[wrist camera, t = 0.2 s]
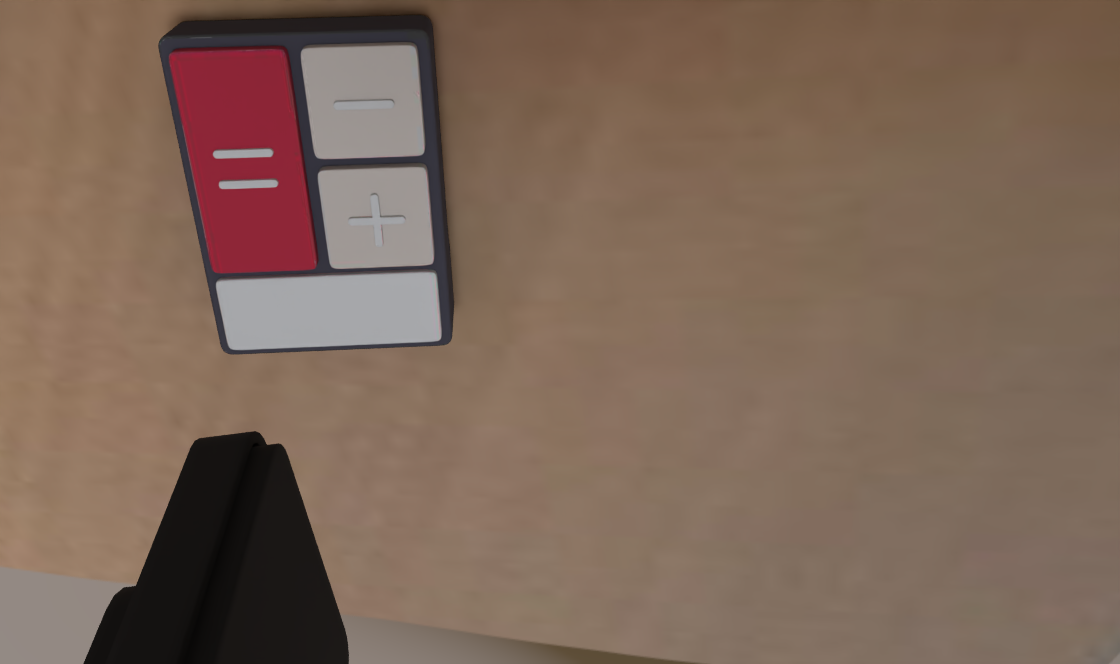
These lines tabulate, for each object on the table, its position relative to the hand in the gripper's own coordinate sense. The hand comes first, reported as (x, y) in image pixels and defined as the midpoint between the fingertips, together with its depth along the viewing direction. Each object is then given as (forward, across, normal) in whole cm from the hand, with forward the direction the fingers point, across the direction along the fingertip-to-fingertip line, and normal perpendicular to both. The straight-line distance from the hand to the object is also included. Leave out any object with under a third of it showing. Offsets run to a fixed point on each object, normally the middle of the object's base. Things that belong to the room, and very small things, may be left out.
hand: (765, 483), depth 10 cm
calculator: (+37, +12, +11) cm, 40 cm away
